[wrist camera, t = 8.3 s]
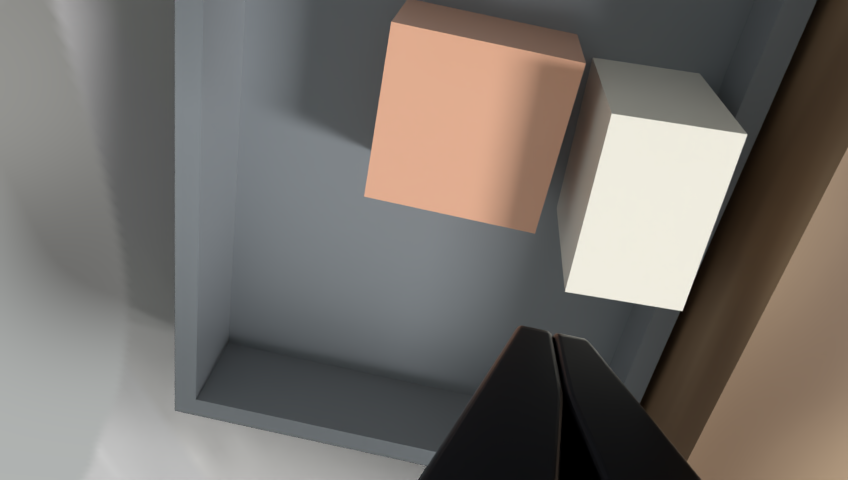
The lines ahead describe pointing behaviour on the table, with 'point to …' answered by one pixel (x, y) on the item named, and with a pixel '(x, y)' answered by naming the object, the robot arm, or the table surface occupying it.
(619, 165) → the cream tile
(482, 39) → the terracotta tile
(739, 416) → the walnut plate
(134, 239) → the table surface
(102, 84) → the table surface
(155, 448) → the table surface
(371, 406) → the box
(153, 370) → the table surface
